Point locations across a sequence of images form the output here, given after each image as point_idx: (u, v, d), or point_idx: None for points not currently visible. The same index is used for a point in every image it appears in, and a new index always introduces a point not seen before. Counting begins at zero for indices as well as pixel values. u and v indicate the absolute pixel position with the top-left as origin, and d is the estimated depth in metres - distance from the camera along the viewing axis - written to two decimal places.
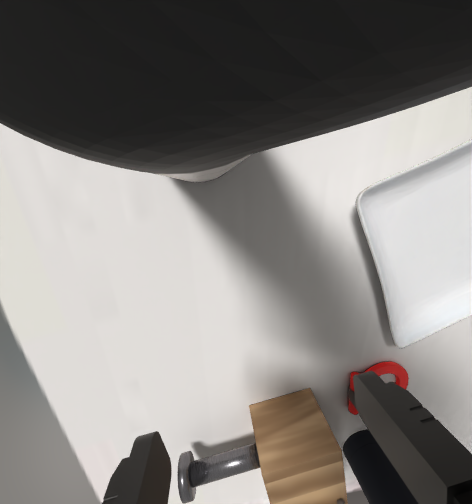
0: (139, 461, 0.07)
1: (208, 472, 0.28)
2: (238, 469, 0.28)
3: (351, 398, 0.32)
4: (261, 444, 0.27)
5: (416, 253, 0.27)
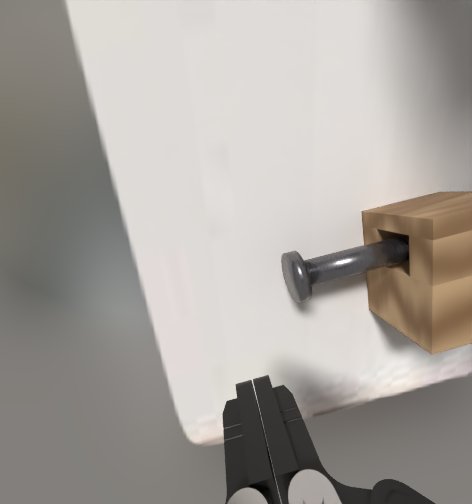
0: (248, 399, 0.09)
1: (329, 262, 0.20)
2: (371, 258, 0.20)
3: None
4: (408, 214, 0.19)
5: None
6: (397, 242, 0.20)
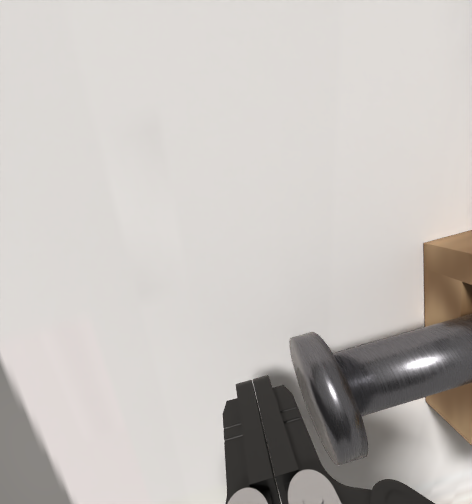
0: (248, 399, 0.09)
1: (399, 369, 0.09)
2: None
3: None
4: None
5: None
6: None
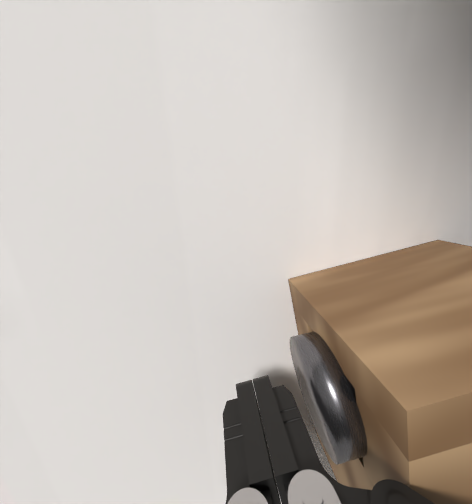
0: (248, 399, 0.09)
1: None
2: None
3: None
4: (355, 329, 0.08)
5: None
6: None
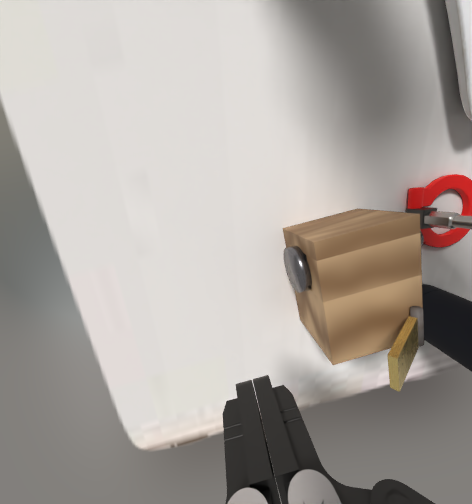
0: (248, 399, 0.09)
1: None
2: None
3: None
4: (306, 234, 0.21)
5: None
6: None
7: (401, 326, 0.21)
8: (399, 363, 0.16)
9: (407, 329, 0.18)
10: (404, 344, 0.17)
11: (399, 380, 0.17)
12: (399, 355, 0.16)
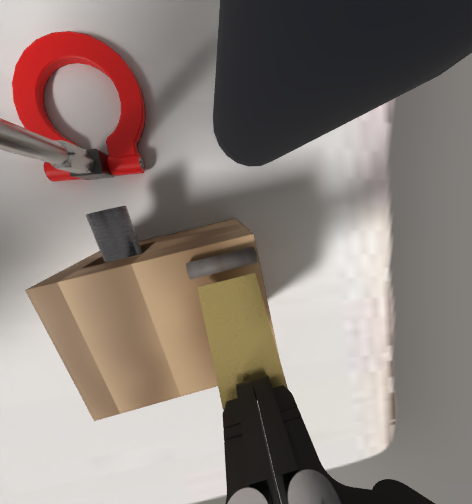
0: (248, 399, 0.09)
1: None
2: None
3: (101, 177, 0.17)
4: None
5: None
6: (104, 259, 0.15)
7: (226, 278, 0.13)
8: None
9: (206, 326, 0.11)
10: (215, 365, 0.10)
11: None
12: (223, 396, 0.10)
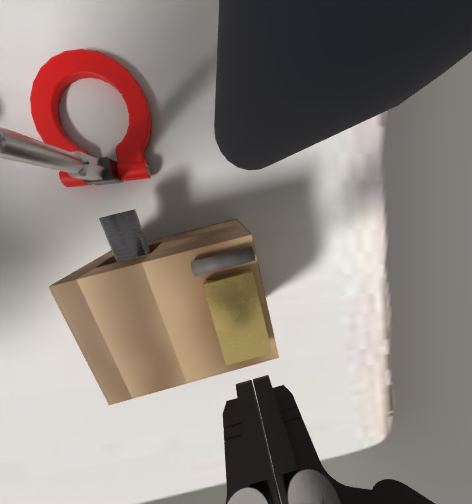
0: (248, 399, 0.09)
1: None
2: None
3: (111, 182, 0.18)
4: None
5: None
6: (115, 258, 0.16)
7: None
8: (236, 356, 0.14)
9: (211, 312, 0.14)
10: (220, 340, 0.14)
11: (257, 354, 0.14)
12: (225, 358, 0.14)
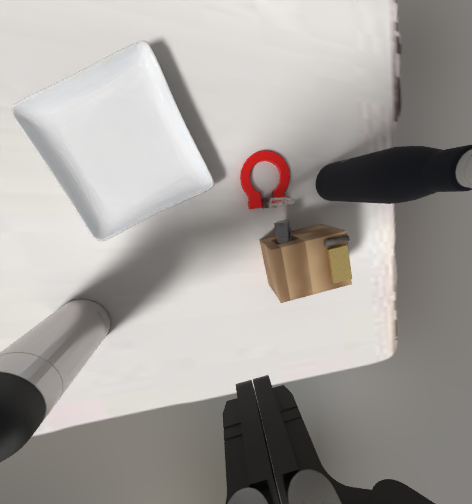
0: (248, 399, 0.09)
1: None
2: None
3: None
4: (275, 292, 0.39)
5: (139, 175, 0.36)
6: (280, 241, 0.37)
7: None
8: (338, 279, 0.35)
9: (329, 261, 0.35)
10: (332, 272, 0.35)
11: (346, 279, 0.35)
12: (334, 280, 0.35)
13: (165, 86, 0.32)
